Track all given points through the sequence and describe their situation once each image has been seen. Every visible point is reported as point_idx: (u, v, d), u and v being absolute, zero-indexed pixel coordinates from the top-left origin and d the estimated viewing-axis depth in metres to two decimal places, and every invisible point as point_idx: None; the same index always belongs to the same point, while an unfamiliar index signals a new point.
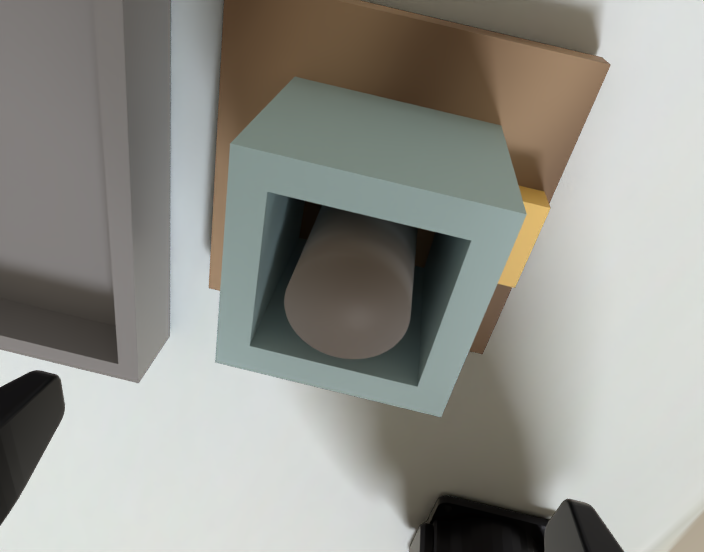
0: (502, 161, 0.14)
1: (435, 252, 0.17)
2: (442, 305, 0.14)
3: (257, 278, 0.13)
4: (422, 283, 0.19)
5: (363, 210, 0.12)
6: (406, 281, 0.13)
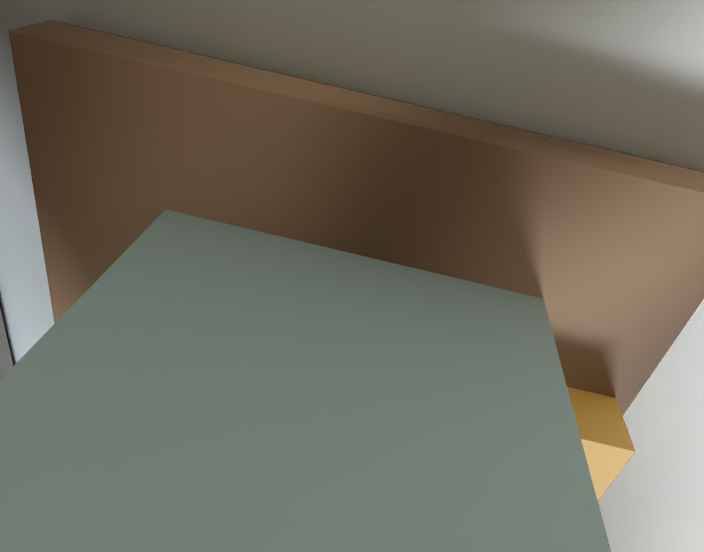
0: (564, 448, 0.06)
1: None
2: None
3: None
4: None
5: None
6: None
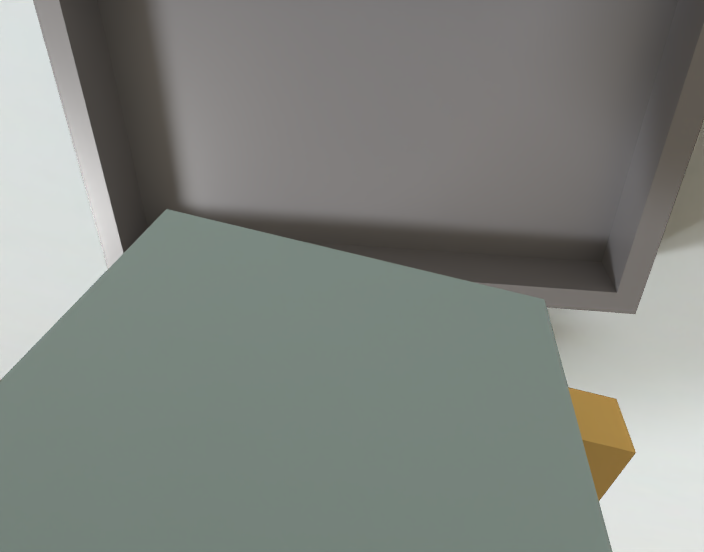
0: (566, 449, 0.06)
1: None
2: None
3: None
4: None
5: None
6: None
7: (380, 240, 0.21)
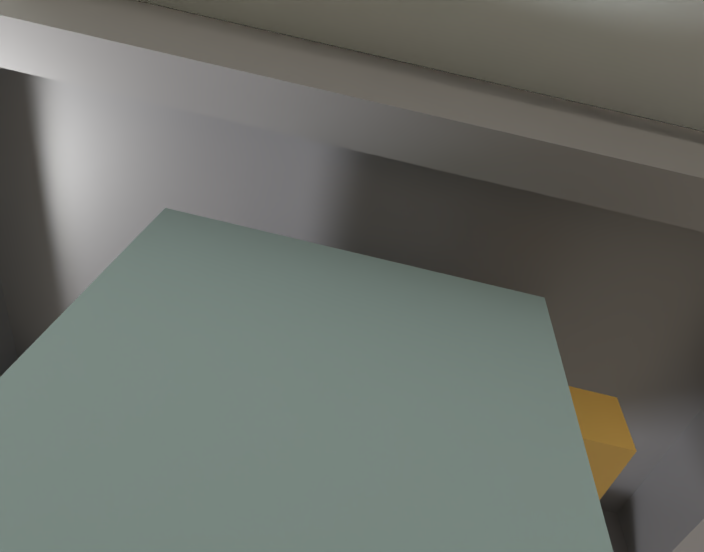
0: (566, 448, 0.06)
1: None
2: None
3: None
4: None
5: None
6: None
7: None
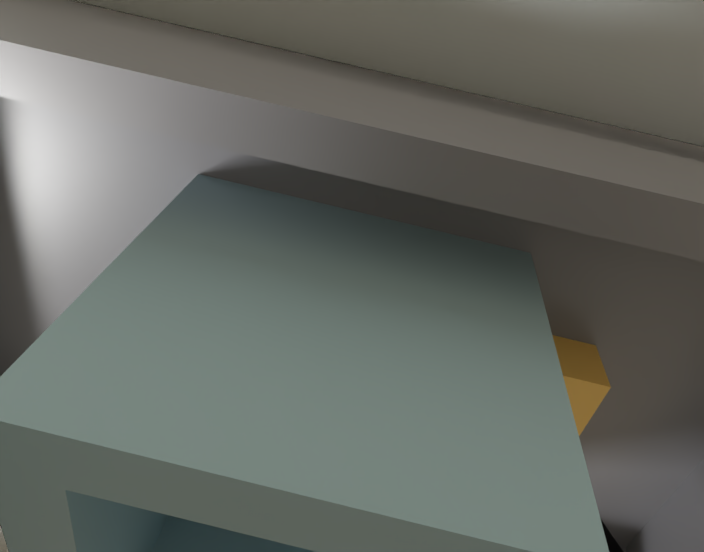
0: (543, 363, 0.08)
1: None
2: None
3: None
4: None
5: (264, 532, 0.06)
6: None
7: None
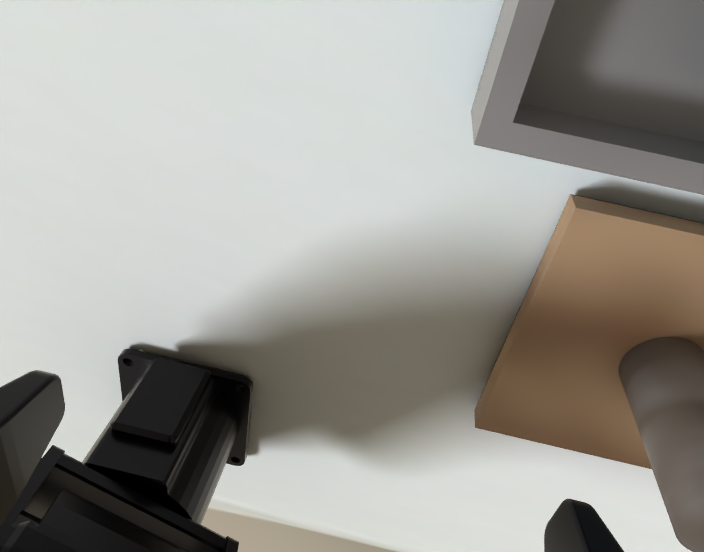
0: None
1: None
2: None
3: None
4: None
5: None
6: None
7: None
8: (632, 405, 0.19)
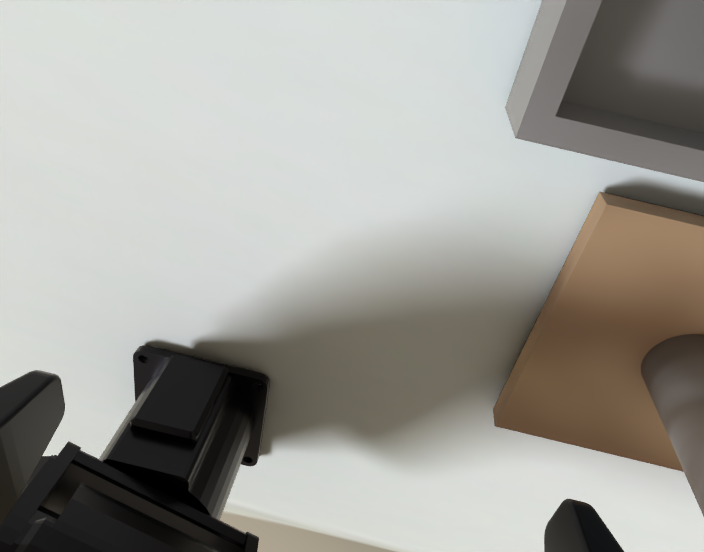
0: None
1: None
2: None
3: None
4: None
5: None
6: None
7: None
8: (657, 401, 0.19)
